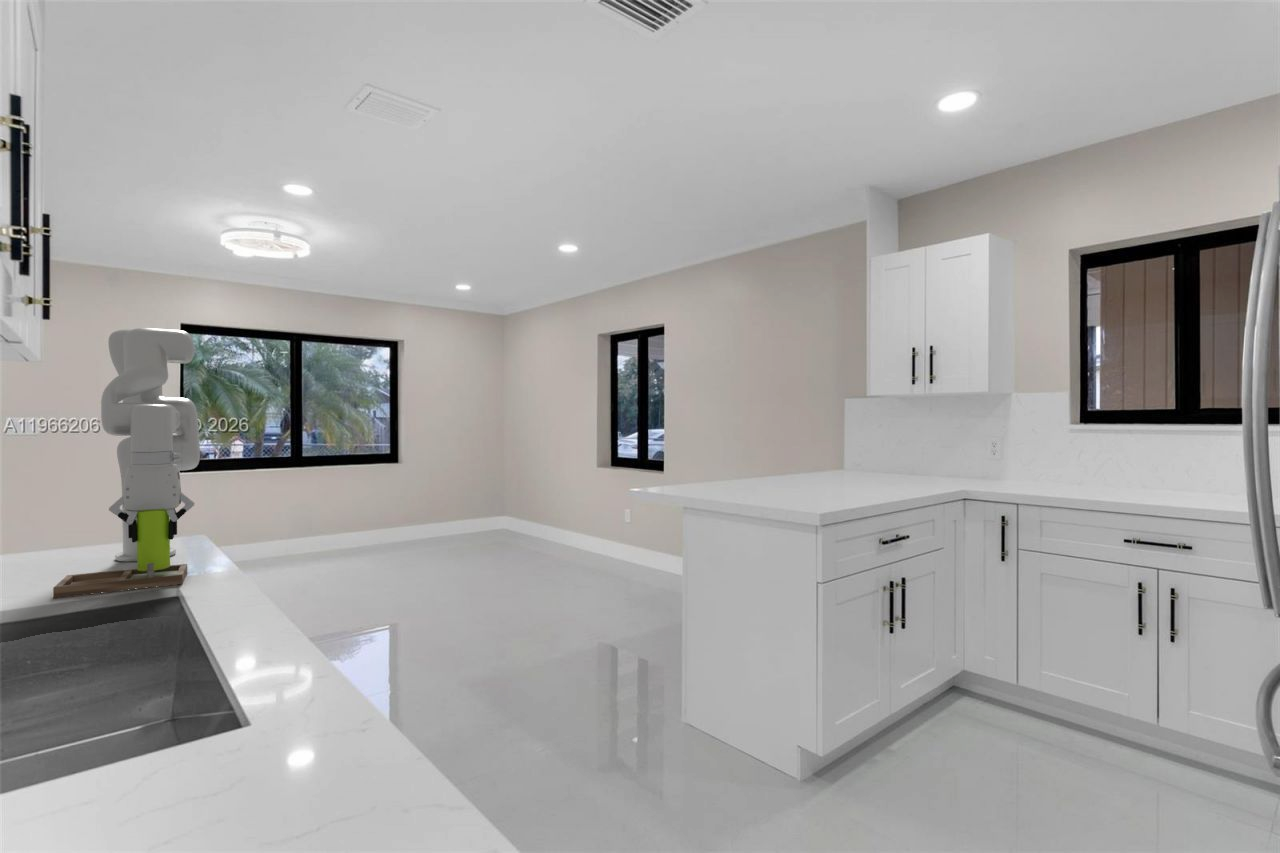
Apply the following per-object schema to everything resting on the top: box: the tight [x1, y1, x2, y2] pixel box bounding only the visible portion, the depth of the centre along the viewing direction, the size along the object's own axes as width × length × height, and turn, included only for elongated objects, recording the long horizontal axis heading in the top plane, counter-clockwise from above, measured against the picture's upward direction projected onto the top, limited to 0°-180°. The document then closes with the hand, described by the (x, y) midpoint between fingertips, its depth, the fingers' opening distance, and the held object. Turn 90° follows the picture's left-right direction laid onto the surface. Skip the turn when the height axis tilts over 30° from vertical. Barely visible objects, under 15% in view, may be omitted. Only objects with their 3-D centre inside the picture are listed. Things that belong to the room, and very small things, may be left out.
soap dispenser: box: [136, 482, 171, 571], centre depth 146 cm, size 6×7×20 cm
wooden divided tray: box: [52, 563, 188, 599], centre depth 143 cm, size 11×22×5 cm, turn 121°
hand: (153, 539), depth 145 cm, fingers closed on soap dispenser, 5 cm apart
